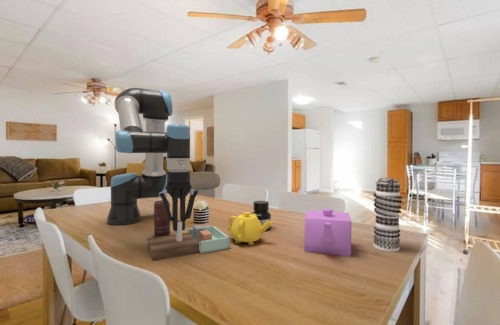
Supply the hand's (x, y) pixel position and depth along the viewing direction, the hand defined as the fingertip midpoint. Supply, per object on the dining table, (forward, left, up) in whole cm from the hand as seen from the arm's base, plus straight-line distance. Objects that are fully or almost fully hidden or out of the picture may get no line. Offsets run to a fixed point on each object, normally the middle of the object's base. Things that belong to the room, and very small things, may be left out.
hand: (179, 239), depth 89 cm
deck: (-4, -1, -4) cm, 6 cm away
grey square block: (-8, +8, -1) cm, 11 cm away
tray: (-4, +12, -4) cm, 13 cm away
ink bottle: (-12, +39, -5) cm, 41 cm away
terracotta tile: (0, +8, -1) cm, 8 cm away
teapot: (0, +27, -5) cm, 27 cm away
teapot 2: (+20, +48, -5) cm, 52 cm away
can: (-22, -2, -5) cm, 22 cm away
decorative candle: (+29, +68, -5) cm, 74 cm away
